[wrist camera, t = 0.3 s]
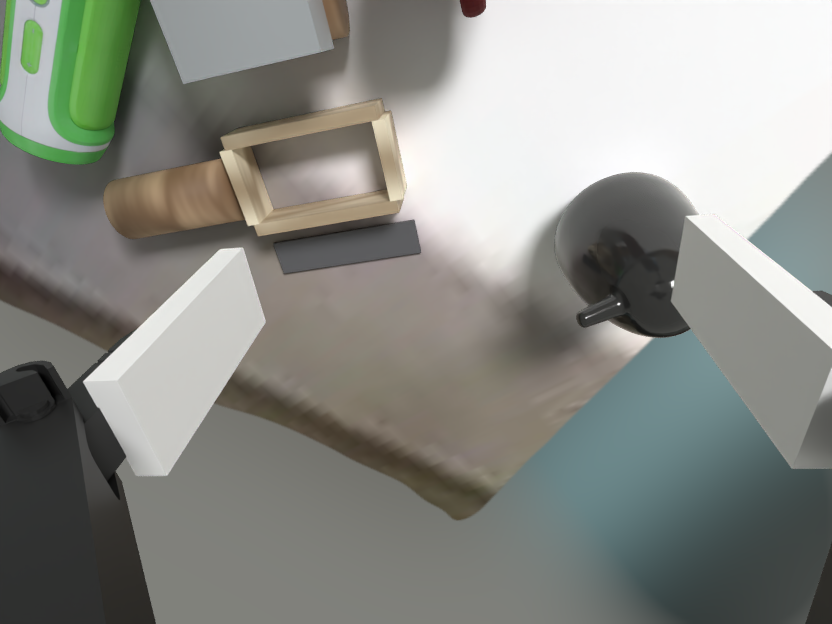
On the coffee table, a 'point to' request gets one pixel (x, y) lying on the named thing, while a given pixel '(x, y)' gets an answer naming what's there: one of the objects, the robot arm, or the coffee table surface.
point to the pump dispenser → (625, 252)
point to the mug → (472, 7)
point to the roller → (172, 200)
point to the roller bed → (337, 18)
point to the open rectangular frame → (323, 212)
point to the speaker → (64, 75)
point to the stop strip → (348, 247)
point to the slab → (240, 33)
